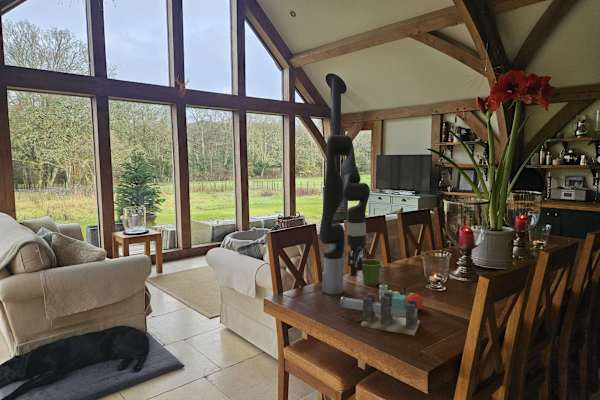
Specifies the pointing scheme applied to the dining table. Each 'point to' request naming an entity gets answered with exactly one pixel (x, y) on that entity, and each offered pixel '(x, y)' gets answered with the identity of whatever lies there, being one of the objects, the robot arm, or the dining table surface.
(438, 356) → the dining table surface
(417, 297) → the clementine
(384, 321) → the frame
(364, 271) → the plant pot
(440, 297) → the dining table surface
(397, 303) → the spacer
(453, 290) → the dining table surface
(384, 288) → the valve
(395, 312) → the shaft
